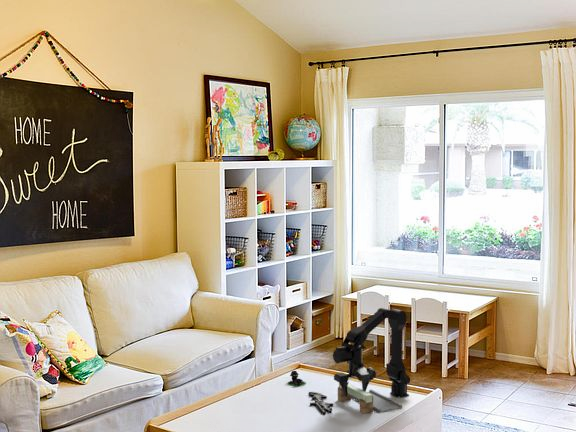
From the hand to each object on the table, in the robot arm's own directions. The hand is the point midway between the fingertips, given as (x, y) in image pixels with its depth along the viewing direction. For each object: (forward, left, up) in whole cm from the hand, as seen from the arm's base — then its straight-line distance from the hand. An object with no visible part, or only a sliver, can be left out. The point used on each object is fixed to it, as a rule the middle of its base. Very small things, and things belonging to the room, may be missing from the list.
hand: (355, 394), depth 316 cm
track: (-10, 0, -5) cm, 12 cm away
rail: (0, 0, 0) cm, 0 cm away
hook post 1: (0, -9, -5) cm, 10 cm away
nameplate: (+12, -10, -6) cm, 17 cm away
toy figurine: (+8, -40, -6) cm, 41 cm away
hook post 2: (0, +9, -5) cm, 10 cm away
